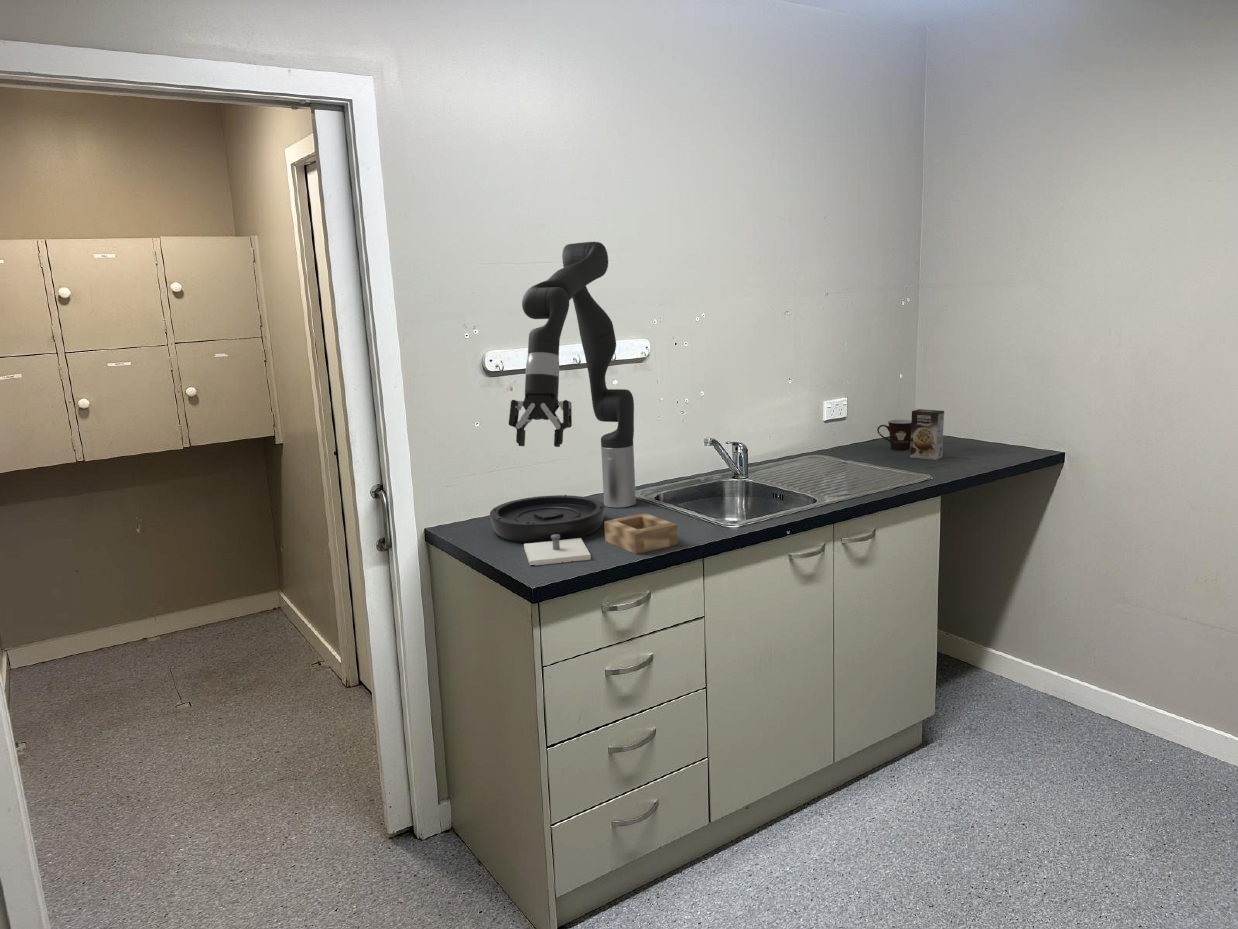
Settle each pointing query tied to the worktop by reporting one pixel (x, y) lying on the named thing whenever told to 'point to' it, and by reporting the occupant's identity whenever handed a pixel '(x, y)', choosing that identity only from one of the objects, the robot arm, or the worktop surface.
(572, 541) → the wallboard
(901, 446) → the coffee mug
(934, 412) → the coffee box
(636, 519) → the frame
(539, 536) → the round tray
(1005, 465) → the worktop surface
